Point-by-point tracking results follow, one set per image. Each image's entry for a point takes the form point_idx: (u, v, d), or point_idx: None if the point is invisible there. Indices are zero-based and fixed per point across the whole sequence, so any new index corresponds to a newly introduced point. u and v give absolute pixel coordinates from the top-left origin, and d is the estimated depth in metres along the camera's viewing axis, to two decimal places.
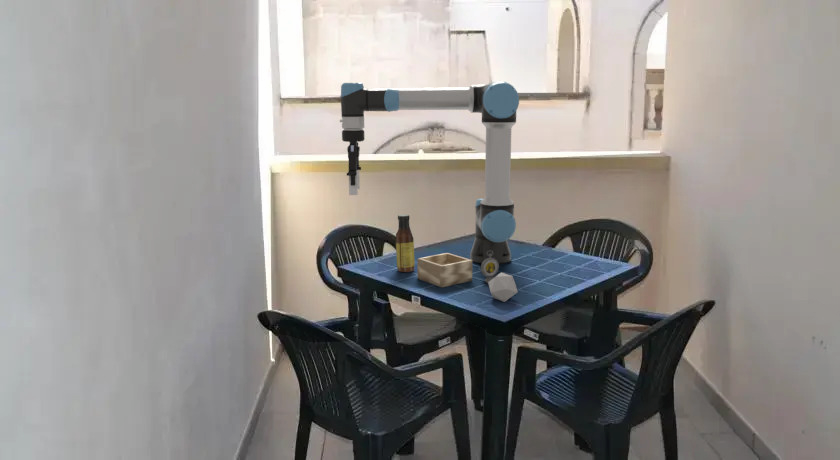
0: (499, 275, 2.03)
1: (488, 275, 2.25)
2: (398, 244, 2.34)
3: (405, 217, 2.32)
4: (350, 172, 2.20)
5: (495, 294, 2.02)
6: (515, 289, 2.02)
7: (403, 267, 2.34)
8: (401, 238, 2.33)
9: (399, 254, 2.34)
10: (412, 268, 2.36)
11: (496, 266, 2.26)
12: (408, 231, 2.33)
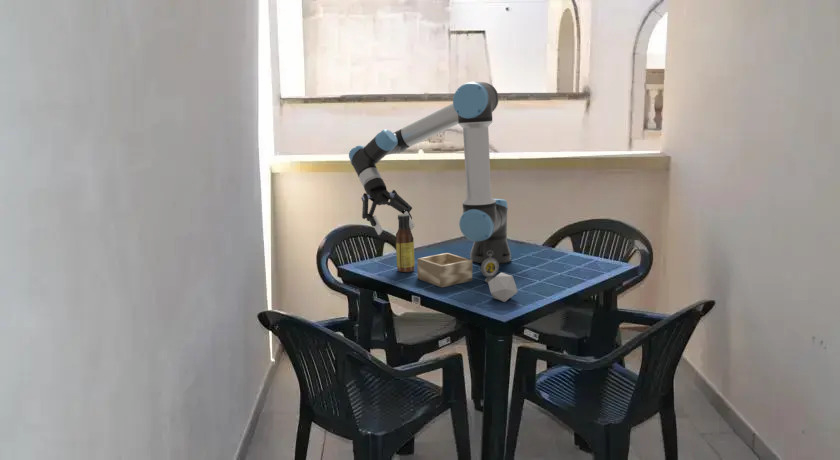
0: (499, 275, 2.03)
1: (488, 275, 2.25)
2: (398, 244, 2.34)
3: (405, 217, 2.32)
4: (363, 216, 2.35)
5: (495, 294, 2.02)
6: (515, 289, 2.02)
7: (403, 267, 2.34)
8: (401, 238, 2.33)
9: (399, 254, 2.34)
10: (412, 268, 2.36)
11: (496, 266, 2.26)
12: (408, 231, 2.33)
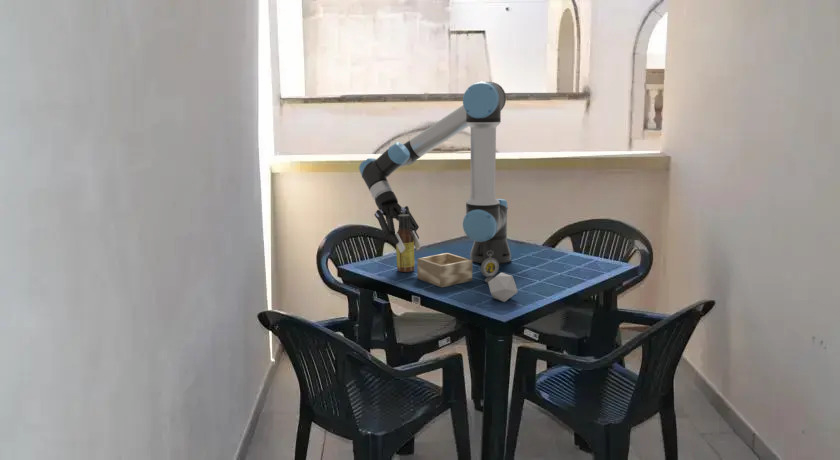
0: (499, 275, 2.03)
1: (488, 275, 2.25)
2: None
3: (405, 217, 2.32)
4: (385, 234, 2.33)
5: (495, 294, 2.02)
6: (515, 289, 2.02)
7: (403, 267, 2.34)
8: (401, 238, 2.33)
9: (399, 254, 2.34)
10: (412, 268, 2.36)
11: (496, 266, 2.26)
12: (408, 231, 2.33)
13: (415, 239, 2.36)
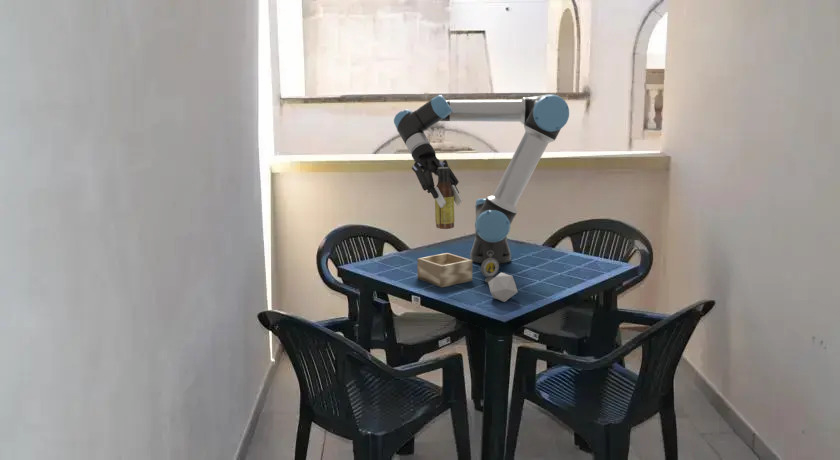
0: (499, 275, 2.03)
1: (488, 275, 2.25)
2: None
3: (445, 169, 2.17)
4: (423, 187, 2.18)
5: (495, 294, 2.02)
6: (515, 289, 2.02)
7: (443, 223, 2.19)
8: None
9: (438, 209, 2.19)
10: (452, 225, 2.21)
11: (496, 266, 2.26)
12: (448, 185, 2.18)
13: (455, 194, 2.21)
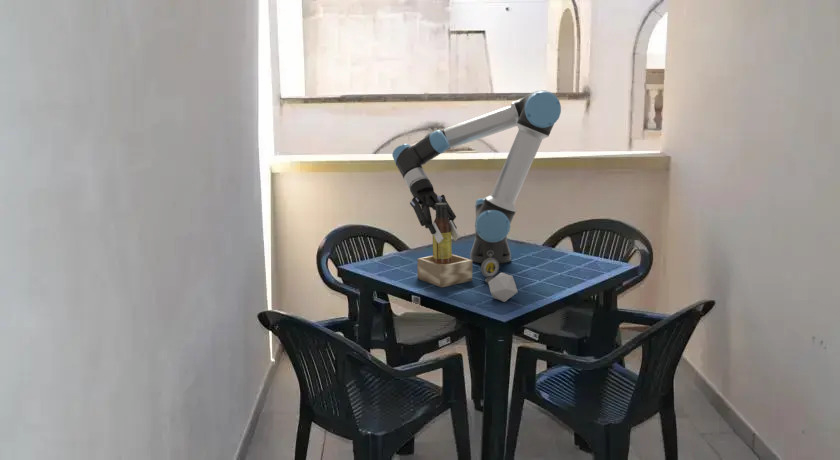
0: (499, 275, 2.03)
1: (488, 275, 2.25)
2: None
3: (443, 205, 2.20)
4: (421, 223, 2.20)
5: (495, 294, 2.02)
6: (515, 289, 2.02)
7: (440, 258, 2.22)
8: (438, 228, 2.20)
9: (436, 245, 2.22)
10: (449, 260, 2.23)
11: (496, 266, 2.26)
12: (446, 220, 2.21)
13: (453, 229, 2.23)
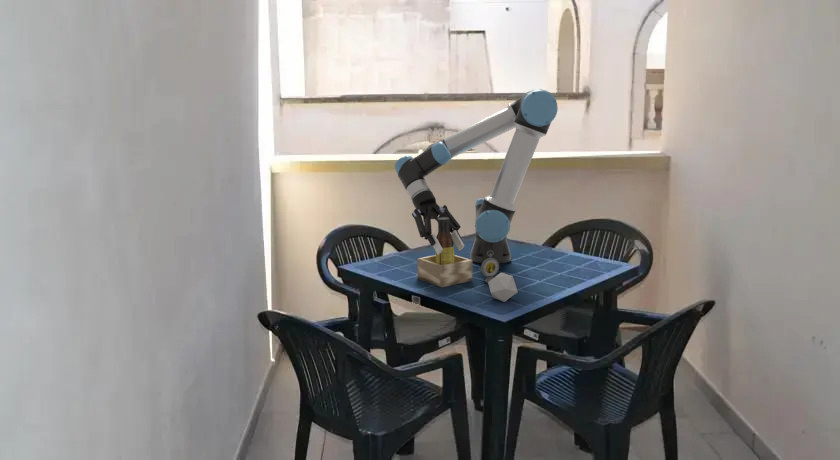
0: (499, 275, 2.03)
1: (488, 275, 2.25)
2: None
3: (445, 220, 2.21)
4: (421, 234, 2.21)
5: (495, 294, 2.02)
6: (515, 289, 2.02)
7: None
8: (441, 243, 2.21)
9: (439, 259, 2.23)
10: None
11: (496, 266, 2.26)
12: (448, 235, 2.22)
13: (457, 239, 2.25)
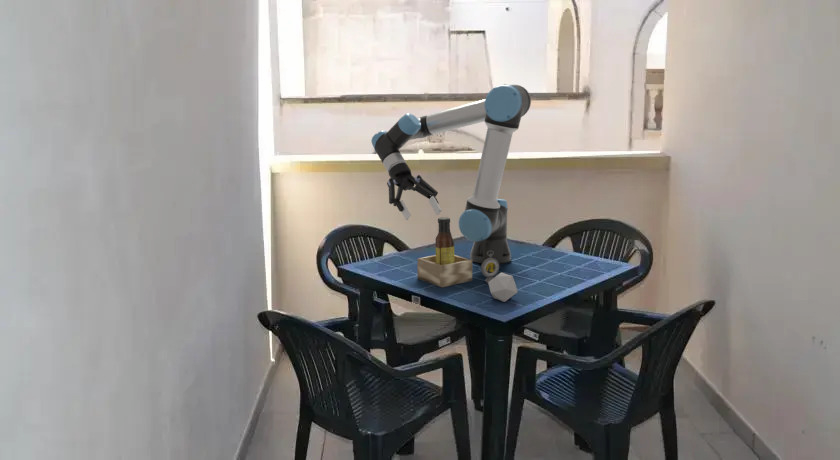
0: (499, 275, 2.03)
1: (488, 275, 2.25)
2: (438, 249, 2.22)
3: (446, 220, 2.21)
4: (390, 201, 2.31)
5: (495, 294, 2.02)
6: (515, 289, 2.02)
7: None
8: (441, 243, 2.21)
9: (439, 259, 2.23)
10: None
11: (496, 266, 2.26)
12: (449, 235, 2.22)
13: (435, 204, 2.39)
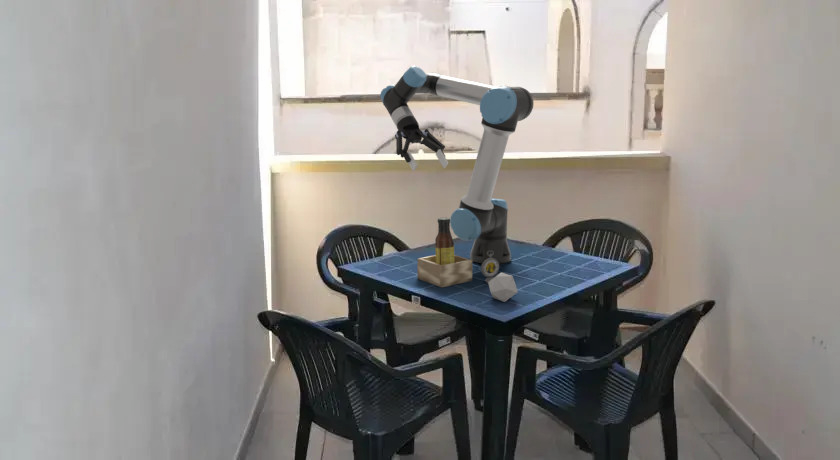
0: (499, 275, 2.03)
1: (488, 275, 2.25)
2: (438, 249, 2.22)
3: (446, 220, 2.21)
4: (397, 152, 2.34)
5: (495, 294, 2.02)
6: (515, 289, 2.02)
7: None
8: (441, 243, 2.21)
9: (439, 259, 2.23)
10: None
11: (496, 266, 2.26)
12: (449, 235, 2.22)
13: (442, 157, 2.41)
